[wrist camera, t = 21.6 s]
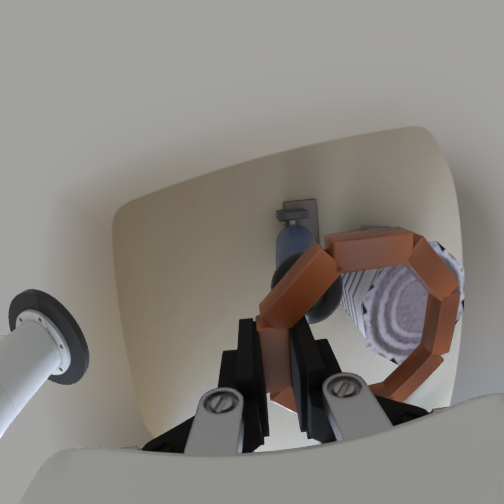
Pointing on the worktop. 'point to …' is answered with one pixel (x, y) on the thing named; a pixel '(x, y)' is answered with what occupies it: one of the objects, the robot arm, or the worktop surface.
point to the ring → (352, 260)
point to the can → (393, 304)
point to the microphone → (287, 253)
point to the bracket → (301, 215)
